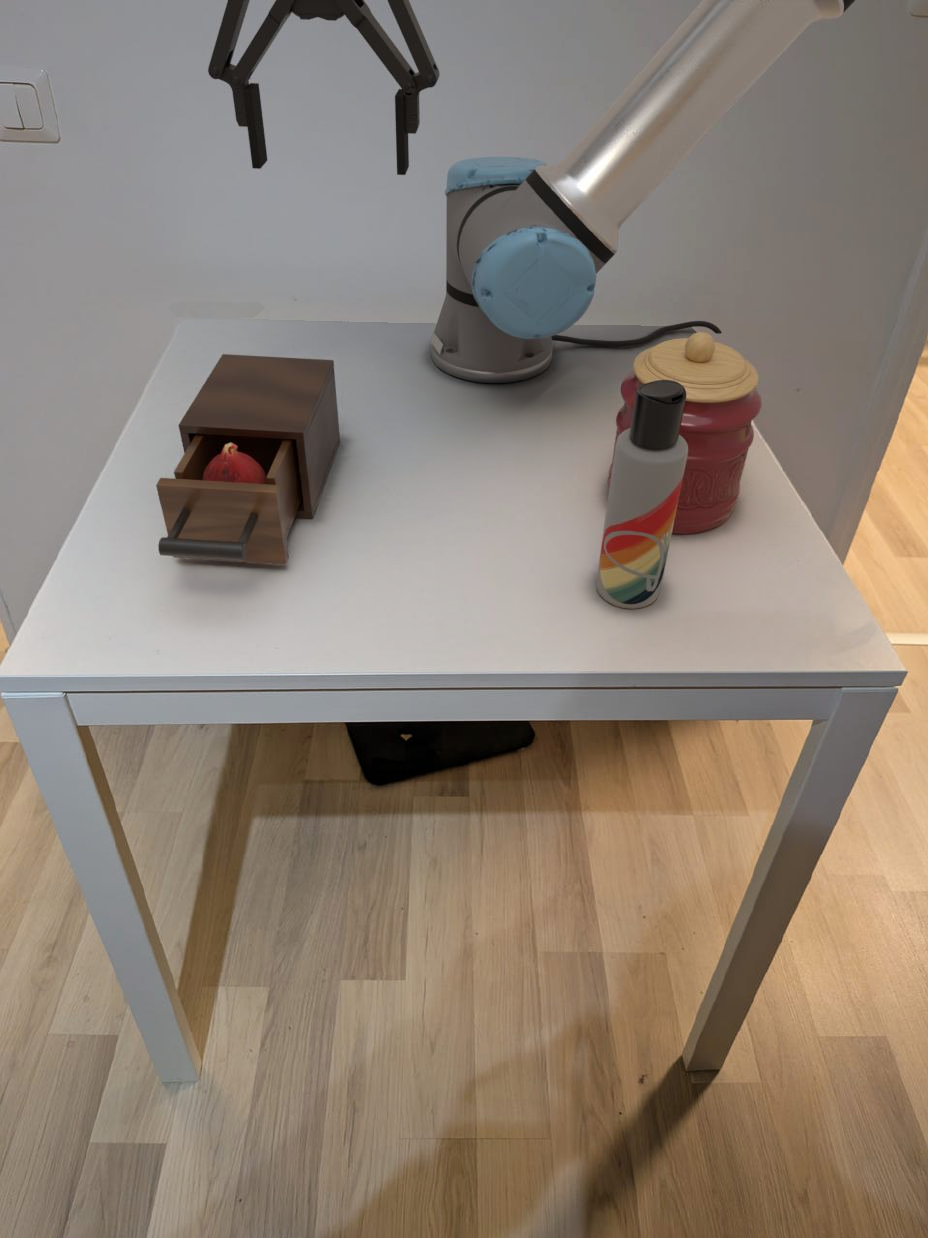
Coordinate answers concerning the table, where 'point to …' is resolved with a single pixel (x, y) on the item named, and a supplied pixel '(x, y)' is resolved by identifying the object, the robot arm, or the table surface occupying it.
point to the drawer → (231, 503)
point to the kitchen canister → (702, 421)
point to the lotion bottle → (643, 497)
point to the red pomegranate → (234, 467)
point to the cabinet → (273, 411)
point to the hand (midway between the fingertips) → (331, 167)
